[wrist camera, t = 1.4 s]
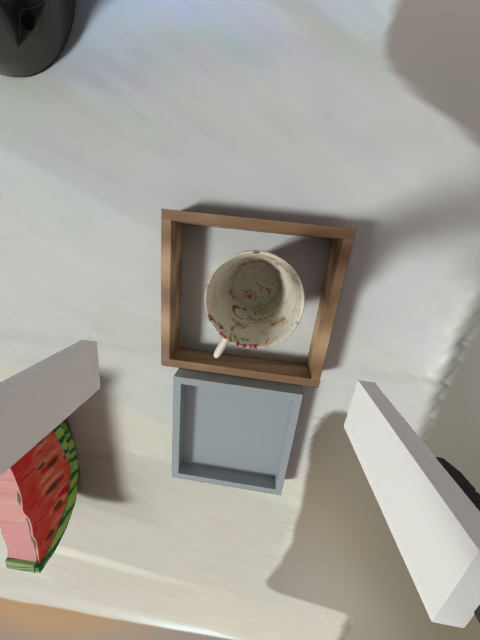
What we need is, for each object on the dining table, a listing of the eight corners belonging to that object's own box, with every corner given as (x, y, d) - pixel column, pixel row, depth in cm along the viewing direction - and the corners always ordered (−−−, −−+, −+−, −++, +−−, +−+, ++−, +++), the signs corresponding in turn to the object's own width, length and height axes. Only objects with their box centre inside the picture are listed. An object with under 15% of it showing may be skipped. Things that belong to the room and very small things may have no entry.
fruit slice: (89, 504, 44) (41, 574, 35) (58, 499, 45) (2, 568, 35) (65, 383, 36) (-6, 432, 27) (27, 379, 37) (-55, 426, 27)
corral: (173, 213, 27) (161, 208, 24) (344, 231, 26) (356, 228, 23) (171, 353, 33) (161, 365, 29) (312, 372, 32) (317, 387, 28)
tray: (180, 367, 33) (173, 376, 31) (300, 383, 32) (303, 394, 30) (177, 462, 39) (171, 476, 37) (279, 479, 38) (280, 495, 36)
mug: (304, 270, 28) (326, 283, 18) (253, 353, 32) (248, 399, 22) (242, 235, 27) (232, 230, 18) (198, 324, 31) (169, 358, 22)
